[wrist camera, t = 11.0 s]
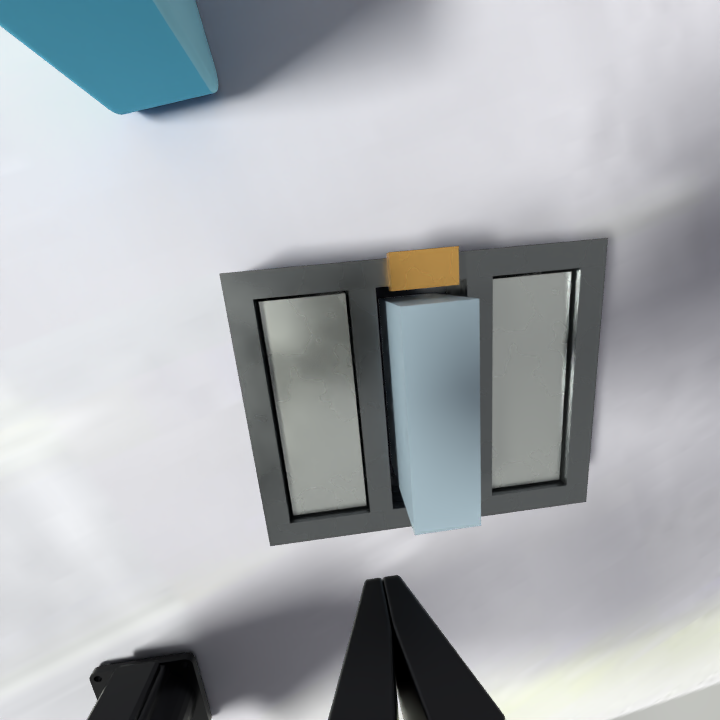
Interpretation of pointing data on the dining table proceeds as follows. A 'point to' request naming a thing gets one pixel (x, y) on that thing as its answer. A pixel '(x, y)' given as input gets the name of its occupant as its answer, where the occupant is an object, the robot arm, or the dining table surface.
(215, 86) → the data package
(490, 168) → the dining table surface
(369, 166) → the dining table surface
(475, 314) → the block
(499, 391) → the frame
